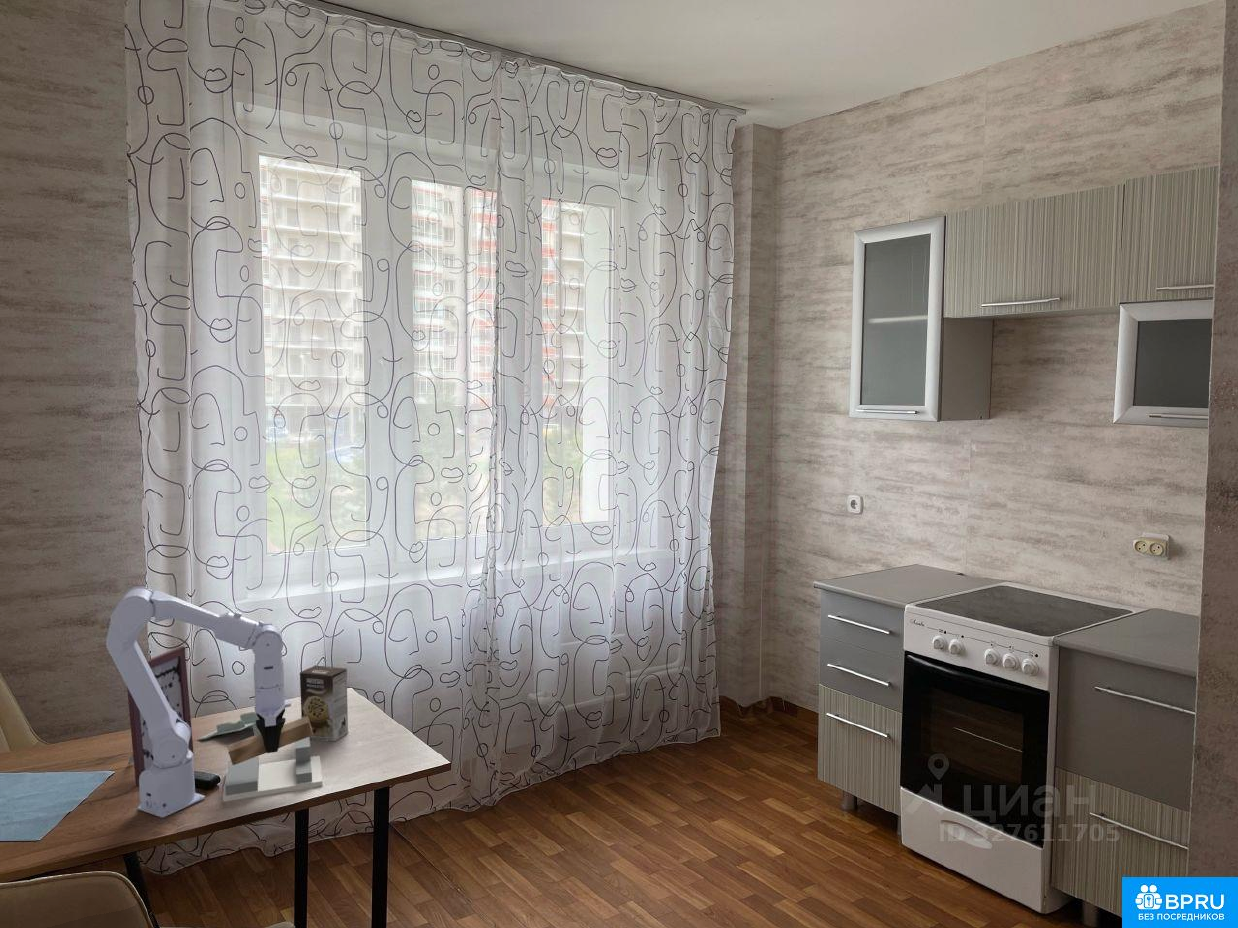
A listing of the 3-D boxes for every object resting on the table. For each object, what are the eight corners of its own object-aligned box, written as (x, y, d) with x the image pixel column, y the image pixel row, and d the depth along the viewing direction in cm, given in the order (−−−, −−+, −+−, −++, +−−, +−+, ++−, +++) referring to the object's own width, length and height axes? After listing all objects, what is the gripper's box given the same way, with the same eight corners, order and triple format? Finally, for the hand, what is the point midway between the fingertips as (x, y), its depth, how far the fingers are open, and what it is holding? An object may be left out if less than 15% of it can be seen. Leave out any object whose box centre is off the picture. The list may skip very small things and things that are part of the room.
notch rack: (223, 801, 177) (221, 772, 176) (226, 773, 190) (225, 746, 189) (322, 785, 184) (321, 757, 183) (319, 759, 197) (318, 733, 196)
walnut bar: (232, 765, 179) (228, 752, 178) (233, 757, 182) (229, 744, 182) (312, 735, 184) (308, 722, 183) (312, 728, 188) (307, 715, 187)
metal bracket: (282, 702, 218) (234, 724, 204) (288, 725, 217) (240, 748, 204) (241, 711, 223) (191, 732, 209) (247, 733, 223) (198, 756, 209)
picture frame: (140, 785, 185) (133, 669, 183) (100, 781, 187) (93, 666, 185) (193, 753, 201) (188, 646, 199) (156, 750, 203) (150, 644, 201)
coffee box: (300, 738, 209) (298, 672, 208) (317, 728, 215) (314, 664, 214) (333, 742, 206) (331, 675, 205) (349, 732, 213) (347, 667, 211)
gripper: (290, 692, 177) (293, 757, 178) (289, 671, 190) (292, 732, 191) (252, 697, 174) (255, 763, 175) (254, 675, 188) (257, 737, 189)
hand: (272, 747), depth 183 cm, fingers closed on walnut bar, 4 cm apart
